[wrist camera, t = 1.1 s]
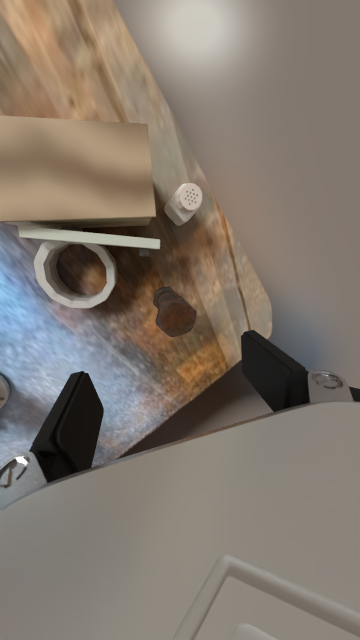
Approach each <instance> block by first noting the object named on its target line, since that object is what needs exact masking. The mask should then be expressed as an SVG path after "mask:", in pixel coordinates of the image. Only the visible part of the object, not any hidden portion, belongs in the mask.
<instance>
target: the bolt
mask: <svg viewBox="0 0 360 640" xmlns="http://www.w3.org/2000/svg"><path fill="white" fill-rule="evenodd" d="M153 304H154V305H155V306H156V307H157V308H158V309H159V310H158V314H157V318H156V325H157V326H158V327H159V328H160V329H161V330H162V331H164V332H165V333H166V334H167V335H169V336H170V337H176V336H180V335H183V334H186V333H188V332H189V331H191V329H192V327H193V325H194V322H195V318H196V311H195V310H194V309H193V308H192V307H191V306H190V305H189V304H188V303H187V302H186V301H185V300H184V299H183V298H182V297H181V296H178V295H177V294H176V293H175V292H174V291H173V290H172V289H171V288H170V287H169V286H168V287H162V288H160V289H158V290H156V292H155V296H154V301H153Z"/></svg>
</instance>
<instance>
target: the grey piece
mask: <svg viewBox="0 0 360 640" xmlns="http://www.w3.org/2000/svg"><path fill="white" fill-rule="evenodd" d="M18 231H19V236H20V237H25V238H34V239H43V240H47V241H45V242H43V244H41V247H40V249H39V251H38V253H37V255H36V257H35V259H34V261H35V262H34V266H35V271H36V277H37V281H39V282H38V283H39V284H40V285H41V287H42V288H43V289H44V290H45V292H46V293H47V294H48V295H49V296H50V298H52V299H53V300H55V301H57V302H59V303H61V304H64V305H66V306H68V307H71V308H91V307H93V306H95V305H97V304H99V303H101V302H103V301H105V300H106V299H107V298H108V296H109V294H110V292H111V291H112V289H113V287H114V285H115V284H116V272H115V266H114V265H115V264H114V262H113V261H112V259H111V258H110V256H109V254H108V253H107V251H106V249H104V247H102V246H101V245H112V246H124V247H136V248H139V256H146V257H149V250H150V249H160V239H150V238H140V237H130V236H120V235H109V234H99V233H89V232H79V231H69V230H58V229H48V228H38V227H28V226H18ZM68 243H73V244H82V245H84V246H86V247H87V248H89V249H91V250H92V251H94V252H95V253H97V254H98V256H99V257H100V259H101V260H102V262H103V264H104V265H105V267H106V273H107V284H106V285H105V287H104V289H103V291H102V292H101V293H100V294H98V295H96V296H94V297H92V298H74V297H72V296H70V295H68V294H66V293H64V292H62V291H61V290H60V289H59V287H58V286H57V285H56V284H55V282H54V281H53V280H52V278H51V273H50V266H49V262H50V260H51V258H52V256H53V254H54V252H55V250H57V249H58V248H60V247H62V246H64V245H66V244H68ZM99 244H101V245H99Z"/></svg>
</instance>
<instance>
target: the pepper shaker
mask: <svg viewBox="0 0 360 640" xmlns="http://www.w3.org/2000/svg"><path fill="white" fill-rule="evenodd" d="M201 202H202V192H201V190H200V188H199V187H198V186H197V185H195V184H192V183H188V184H182V185H181V186H180V187H179V189H178V190H177V191H176V192H175V193H174V195H173V196H172V197H171V198H170V199H169V201H168V203H167V204H166V206H165V208H164V212H165V213H166V214H167V216H168V217H169V218H170V219H171V220H172V221H173V222H174V223H175V225H177V226H180V225H182V224H183V223H185V222H187V221H188V220H189V219H190V218H191V217H192V216H193V215H194V213H195V212H196V211H197V210H198V209H199V207H200V205H201Z"/></svg>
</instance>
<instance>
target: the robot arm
mask: <svg viewBox="0 0 360 640" xmlns="http://www.w3.org/2000/svg"><path fill="white" fill-rule="evenodd" d="M241 351H242V371H243V374H244V375H245V377H246V378H247V379H248V381H249V382H250V383H251V384H252V386H253V387H254V388H255V389H256V391H257V392H258V393H259V394H260V395H261V397H262V398H263V399H264V400H265V402H266V403H267V404H268V405H269V407H270V408H271V409H272V410H273V413H269V414H266V415H262V416H259V417H256V418H252V419H249V420H245V421H242V422H239V423H235V424H232V425H228V426H225V427H222V428H219V429H215V430H212V431H209V432H205V433H202V434H199V435H196V436H192V437H189V438H185V439H183V440H179V441H176V442H172V443H169V444H166V445H163V446H159V447H156V448H153V449H150V450H146V451H143V452H140V453H137V454H133V455H131V456H127V457H124V458H121V459H117V460H114V461H111V462H108V463H105V464H102V465H99V466H95V467H92V468H91V466H92V461H93V457H94V453H95V448H96V444H97V440H98V435H99V431H100V426H101V422H102V418H103V413H104V409H103V406H102V403H101V401H100V399H99V397H98V394H97V392H96V390H95V388H94V385H93V383H92V381H91V379H90V376H89V374H88V373H85V372H84V371H81V372H77V373H73V374H71V375H70V377H69V379H68V381H67V382H66V384H65V386H64V388H63V390H62V391H61V393H60V395H59V397H58V399H57V400H56V402H55V404H54V406H53V408H52V409H51V411H50V413H49V415H48V417H47V418H46V420H45V422H44V424H43V426H42V427H41V429H40V431H39V433H38V435H37V436H36V438H35V440H34V442H33V445H32V447H31V449H30V451H29V452H28V451H27V452H22V453H20V454H18V455H15V456H14V457H12V458H11V459H9V460H8V461H6V462H5V463H4V464H3V465H2V466H0V640H360V389H357V388H353V387H349V386H348V384H347V382H346V381H345V379H343V378H342V377H341V376H339V375H337V374H335V373H333V372H331V371H326V370H313V371H311V372H308V371H306V370H305V367H303V366H302V365H301V364H299V363H298V362H297V361H295V360H294V359H293V358H291V357H290V356H288V355H287V354H286V353H284V352H283V351H281V350H280V349H279V348H277V347H276V346H275V345H273V344H272V343H271V342H269V341H268V340H267V339H265V338H264V337H263V336H261V335H260V334H258V333H257V332H256V331H254V330H251V331H246V332H244V333H243V335H242V336H241ZM9 396H10V388H9V385H8V383H7V381H6V380H5V379H4V377H3V376H1V375H0V409H1V408H2V407H3V406H4V404H5V403H6V402H7V401H8V399H9Z"/></svg>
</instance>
